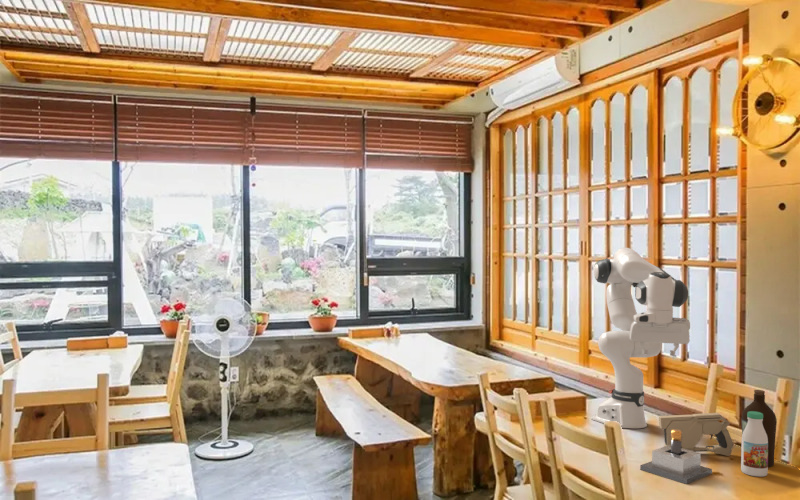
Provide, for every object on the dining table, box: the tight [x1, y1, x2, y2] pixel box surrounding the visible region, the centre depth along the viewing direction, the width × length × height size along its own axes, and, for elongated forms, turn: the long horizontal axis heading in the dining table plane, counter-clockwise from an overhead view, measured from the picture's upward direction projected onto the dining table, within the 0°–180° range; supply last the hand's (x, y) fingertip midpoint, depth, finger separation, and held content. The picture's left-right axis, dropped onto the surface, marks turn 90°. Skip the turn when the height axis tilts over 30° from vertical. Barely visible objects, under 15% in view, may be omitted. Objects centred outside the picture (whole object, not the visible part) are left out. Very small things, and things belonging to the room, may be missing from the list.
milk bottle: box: [740, 411, 769, 477], centre depth 213 cm, size 8×8×20 cm
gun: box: [658, 412, 734, 457], centre depth 232 cm, size 24×3×15 cm, turn 84°
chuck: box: [639, 445, 713, 485], centre depth 213 cm, size 16×16×6 cm
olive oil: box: [741, 389, 778, 468], centre depth 223 cm, size 11×11×25 cm
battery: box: [671, 429, 682, 456], centre depth 213 cm, size 3×3×12 cm
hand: (658, 355), depth 235 cm, fingers open, 8 cm apart
